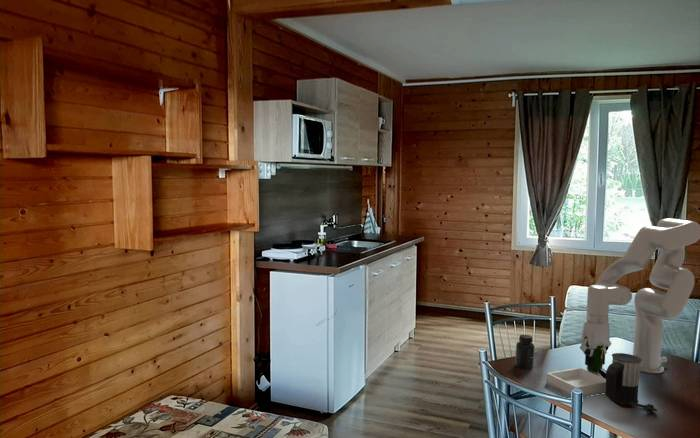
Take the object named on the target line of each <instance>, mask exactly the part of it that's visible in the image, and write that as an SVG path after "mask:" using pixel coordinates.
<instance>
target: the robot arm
mask: <svg viewBox="0 0 700 438" xmlns="http://www.w3.org/2000/svg"><path fill="white" fill-rule="evenodd" d="M699 240H700V224H699V223H698V222H697V221H694V220H686V219H679V218H663V219H660V220H658V222H657V224H656V226H655V225H647V226H643V227H641V228H640V229H639V231H638V232H637V234H636V235H635V237H634V238H633V240H632V242H631V244H630V245H629V246H628V248H627V250H626V252H625V253H624V255H623V256H622V257H621V258H619V259H617V260H616V261H614V262H613V263H611V264H610V265H608V266H607V267H606V268H604V270H603V271H602V273H600V276H598V279H597V280H596V282H595V284H591V285H589V286H588V287H587V299H586V318H585V321H584V323H583V327H582V332H581V339H580V340H581V342H580V343H581V344H580V346H579V349H580V350H581V351H582V353H583V355H585V357H584V358H585V359H584V365H585V366H586V367H587V366H590V367H593V357H592V354H593V351H594V349H596V348H597V346H598V345H599V343H602V342H603V343H602V344H603V345H604V347H603V366H604V365H605V364H606V355H607V353H608V352H607V351H608V350H609V347H611V345H612V341H610V333H611V332H610V324H609V323H610V322H609V317H610V315H609V309H610V306H626V305H628V304H629V303H631V301H632V299H633V294H632V291H631V290H630V288H628V287H626V286H624V285H621V284H617V283H616V282H617V281H618V280H619V279H620V278H621V277H622V276H625V275H627V274H628V275H629V274H630V273H635V272H639V271H642V270H644V269H646V268H647V266H648V264H649V262H650V260H651V259H652V257H653V256H654V254H655V253H656V251H657V250H658V251H659V254H658V257H657V259H656V261H655V263H654V265H653V267H652V269H651V272H650V274H649V282H650V283H651V284H652V285H653V286H654V287H657V288H660V289H663V290H667V291H666V292H665V291H662V290H660V289H655V288H650V287H644V288H641V289H639V290H638V291H636V293H635V296H634V299H633V301H634V302H633V303H634V309H635V311H634V312H635V327H634V335H633V339H634V340H633V347H632V348H633V349H632V355H634V356H637V357H639V358H641V359H642V361H641V364H640V373H647V374H662V373H664V371H665V368H664V366H663V365H662V363H666V362H668V357H667V356H662V357H661V354H662V353H661V352H662V344H663V343H662V342H663V331H664V325H663V324H664V323H663V320H662V319H666V320H676V319H677V318H678V317H679V316H680V315H681V314H682V313H683V310H684V309H685V306H686V304H687V302H688V300H689V299H690V296H691V294H692V291H693V289H694V286H695V276H694V274H693V272H692V271H691V270H690V269H688V268H686V267H685V268H684V267H682V266H683V263H684V260H685V257H686V252H685V247H687V246H690V245H693V244H695V243H697V242H698V241H699ZM589 349H590V352H589V351H588V350H589Z"/></svg>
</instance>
